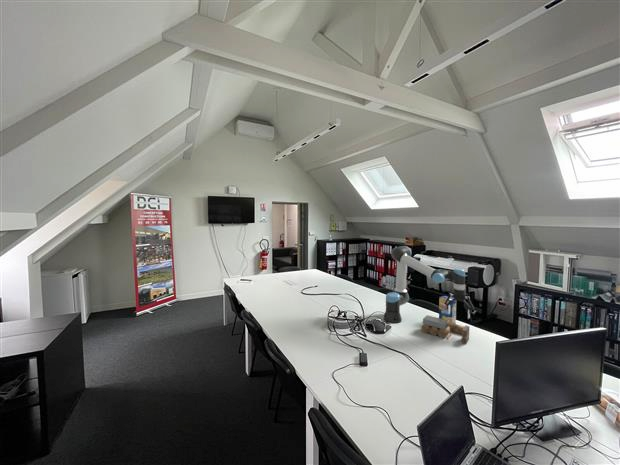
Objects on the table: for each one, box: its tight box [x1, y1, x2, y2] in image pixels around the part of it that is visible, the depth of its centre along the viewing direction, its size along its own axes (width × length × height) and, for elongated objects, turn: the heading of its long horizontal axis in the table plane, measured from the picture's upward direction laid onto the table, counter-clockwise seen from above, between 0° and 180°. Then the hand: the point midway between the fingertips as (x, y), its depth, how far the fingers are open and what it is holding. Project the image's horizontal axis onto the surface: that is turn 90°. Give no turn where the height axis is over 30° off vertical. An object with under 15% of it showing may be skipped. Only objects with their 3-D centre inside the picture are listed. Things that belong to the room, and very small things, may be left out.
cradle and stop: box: [446, 325, 470, 345], centre depth 185 cm, size 12×10×10 cm
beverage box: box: [438, 295, 457, 327], centre depth 213 cm, size 7×11×22 cm, turn 36°
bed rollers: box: [421, 324, 451, 339], centre depth 196 cm, size 11×18×6 cm, turn 48°
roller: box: [449, 323, 465, 334], centre depth 196 cm, size 11×6×6 cm, turn 48°
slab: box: [422, 315, 450, 330], centre depth 195 cm, size 16×10×4 cm, turn 48°
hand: (458, 315), depth 195 cm, fingers open, 13 cm apart
